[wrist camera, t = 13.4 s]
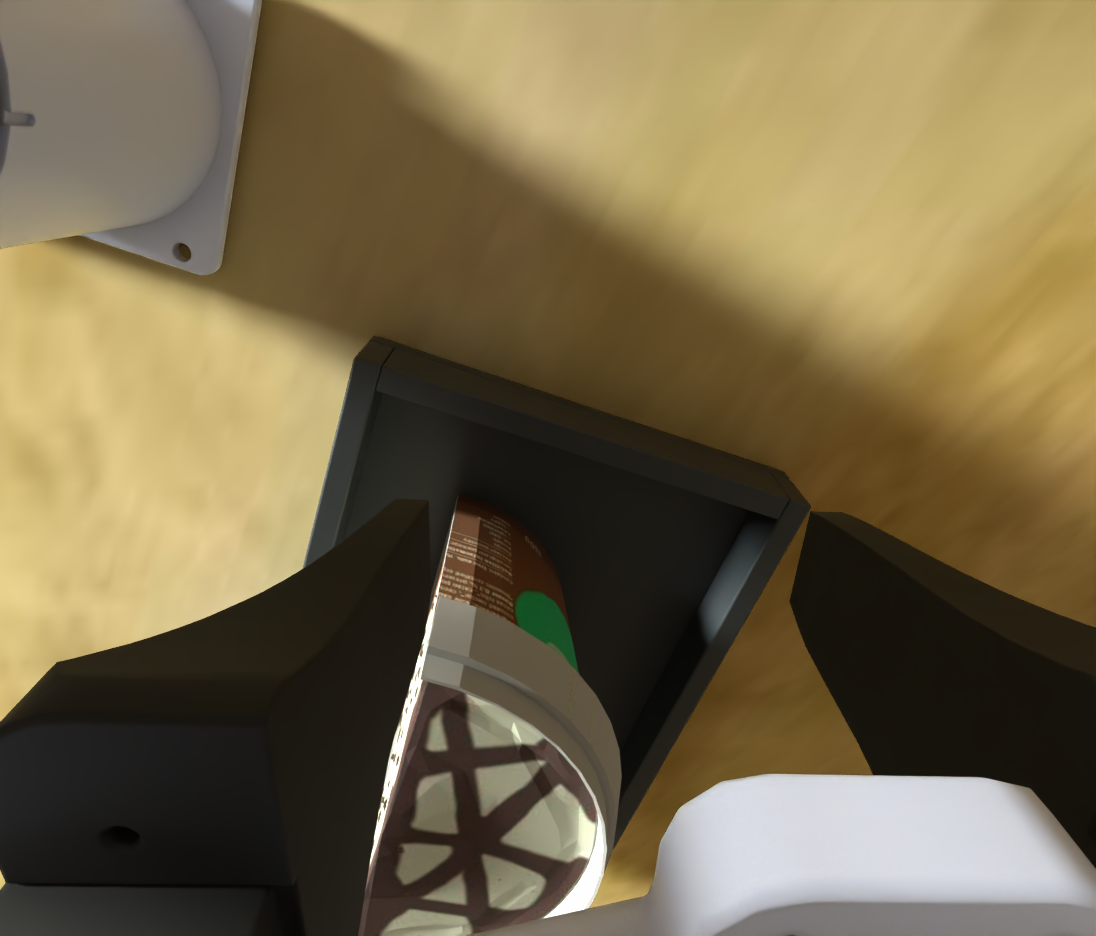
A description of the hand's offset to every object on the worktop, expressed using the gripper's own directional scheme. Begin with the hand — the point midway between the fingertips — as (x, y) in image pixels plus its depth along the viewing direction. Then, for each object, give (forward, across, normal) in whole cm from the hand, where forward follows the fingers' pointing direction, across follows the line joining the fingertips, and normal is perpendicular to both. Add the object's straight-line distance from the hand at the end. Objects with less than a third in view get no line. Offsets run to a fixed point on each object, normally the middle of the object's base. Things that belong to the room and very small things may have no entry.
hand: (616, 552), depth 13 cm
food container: (+10, +2, +9) cm, 14 cm away
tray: (+10, +2, +9) cm, 14 cm away
